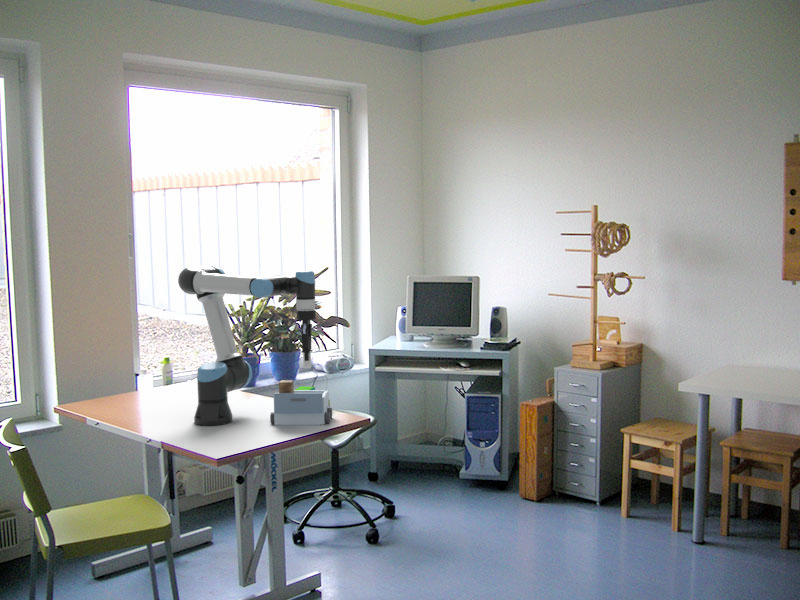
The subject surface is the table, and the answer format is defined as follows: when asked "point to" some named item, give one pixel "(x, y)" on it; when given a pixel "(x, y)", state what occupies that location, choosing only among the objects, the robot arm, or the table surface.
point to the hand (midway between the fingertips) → (307, 368)
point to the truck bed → (305, 417)
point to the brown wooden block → (286, 386)
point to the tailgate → (298, 403)
